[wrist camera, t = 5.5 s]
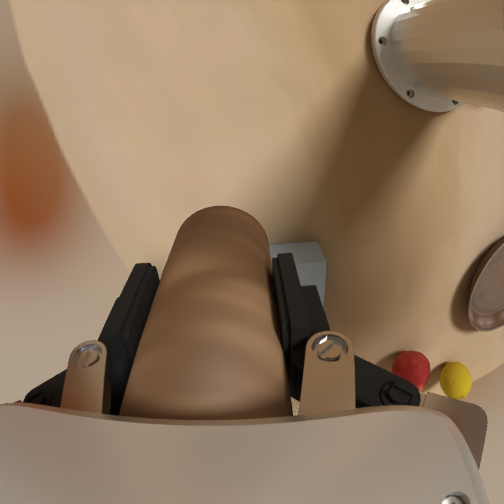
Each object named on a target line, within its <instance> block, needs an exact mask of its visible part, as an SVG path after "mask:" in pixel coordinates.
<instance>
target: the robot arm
mask: <svg viewBox="0 0 504 504" xmlns="http://www.w3.org/2000/svg"><path fill="white" fill-rule="evenodd" d="M378 40H380V41H381V44H380V43H379V41H378ZM371 45H372V50H373V56H374V59H375V61H376V64H377V67H378V69H379V71H380V73H381V74H382V76H383V78H384V80H385V81H386V82H387V84H388V85H389V86H390V88H391V89H392V90H393V91H394V92H395V93H396V94H397V95H398V96H399V97H400V98H402V99H403V100H404V101H406V102H407V103H409V104H410V105H413V106H415V107H417V108H419V109H423V110H426V111H432V112H447V111H450V110H453V109H456V108H457V107H459V106H460V105H462V104H463V103H464V102H465V103H469V104H474V105H478V106H482V107H487V108H491V109H495V110H498V111H502V112H504V0H387V1H386V2H385V3H383V4H382V6H381V7H380V8H379V10H378V11H377V13H376V15H375V18H374V20H373V24H372V29H371ZM407 91H408V95H407ZM272 274H273V283H274V290H275V297H276V303H277V310H278V318H279V325H280V332H281V339H282V346H283V353H284V356H285V360H286V367H287V374H288V381H289V389H290V396H291V397H293V398H294V399H296V400H298V401H299V402H300V406H299V413H298V415H297V416H286V417H275V418H260V419H239V420H173V419H153V418H139V417H127V416H119V413H120V409H121V405H122V401H123V398H124V394H125V390H126V387H127V383H128V380H129V376H130V373H131V369H132V366H133V362H134V359H135V356H136V352H137V349H138V346H139V343H140V339H141V336H142V333H143V330H144V327H145V324H146V321H147V318H148V315H149V311H150V308H151V305H152V302H153V300H154V297H155V294H156V291H157V288H158V285H159V282H160V280H159V276H158V272H157V269H156V267H155V266H152V265H151V263H139V264H135V266H134V268H133V270H132V272H131V274H130V276H129V278H128V280H127V282H126V285H125V286H124V288H123V291H122V293H121V295H120V297H118V298H117V299H116V301H115V303H114V305H113V308H112V310H111V312H110V314H109V316H108V319H107V321H106V323H105V325H104V327H103V329H102V332H101V334H100V336H99V339H98V341H96V340H91V341H86V342H83V343H81V344H79V345H78V346H77V347H76V348H74V350H73V351H72V353H71V355H70V357H69V362H68V367H67V369H66V370H64V371H63V372H61V373H60V374H57V375H56V376H54V377H53V378H51V379H49V380H47V381H46V382H44V383H42V384H41V385H39V386H37V387H36V388H34V389H33V390H31V391H30V392H29V393H28V394H27V395H26V396H25V399H24V401H23V402H22V401H21V400H19V401H16V402H14V403H5V404H0V504H489V501H488V498H487V495H486V491H485V488H484V485H483V481H482V478H481V476H480V473H479V467H480V462H481V457H482V452H483V447H484V442H485V436H486V430H487V415H486V413H485V411H484V410H483V409H482V408H481V407H479V406H477V405H475V404H472V403H467V402H464V401H460V400H456V399H452V398H449V397H445V396H441V395H438V394H434V393H431V392H427V394H426V395H425V394H422V393H420V392H419V390H418V388H417V387H416V386H415V385H414V384H413V383H411V382H410V381H408V380H406V379H404V378H401V377H399V376H397V375H395V374H393V373H391V372H389V371H387V370H385V369H382V368H380V367H378V366H376V365H374V364H372V363H370V362H368V361H366V360H364V359H362V358H360V357H358V356H356V355H354V347H353V343H352V342H351V340H350V339H349V338H348V337H347V336H345V335H344V334H341V333H339V332H335V331H330V328H329V325H328V321H327V318H326V315H325V312H324V309H323V305H322V302H321V299H320V296H319V293H318V290H317V287H316V285H307V286H301V284H300V280H299V277H298V273H297V269H296V265H295V262H294V258H293V254H292V253H279V254H277V258H272Z"/></svg>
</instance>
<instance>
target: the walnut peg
mask: <svg viewBox="0 0 504 504" xmlns="http://www.w3.org/2000/svg"><path fill="white" fill-rule="evenodd" d="M119 416H127V417H139V418H153V419H173V420H239V419H260V418H275V417H286V416H293V411H292V404H291V396H290V389H289V381H288V374H287V367H286V360H285V356H284V353H283V346H282V339H281V332H280V325H279V318H278V310H277V303H276V297H275V290H274V283H273V274H272V264H271V257H270V251H269V244H268V239H267V235H266V233H265V231H264V229H263V228H262V226H261V225H260V223H259V222H258V221H257V220H256V219H255V218H254V217H252V216H251V215H249V214H248V213H246V212H244V211H242V210H240V209H237V208H233V207H229V206H213V207H208V208H204V209H202V210H199V211H197V212H195V213H194V214H192V215H191V216H190V217H188V218H187V219H186V220H185V221H184V223H183V224H182V225H181V227H180V229H179V231H178V233H177V236H176V238H175V241H174V244H173V246H172V249H171V252H170V254H169V257H168V260H167V263H166V265H165V268H164V271H163V274H162V276H161V279H160V282H159V285H158V288H157V291H156V294H155V297H154V300H153V302H152V305H151V308H150V311H149V315H148V318H147V321H146V324H145V327H144V330H143V333H142V336H141V339H140V343H139V346H138V349H137V352H136V356H135V359H134V362H133V366H132V369H131V373H130V376H129V380H128V383H127V387H126V390H125V394H124V398H123V401H122V405H121V409H120V413H119Z"/></svg>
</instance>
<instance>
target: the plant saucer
mask: <svg viewBox="0 0 504 504" xmlns="http://www.w3.org/2000/svg"><path fill="white" fill-rule="evenodd" d="M468 316H469V321H470V323H471V325H472V326H473V327H474V328H475V329H477V330H479V331H491V330H495V329H497V328H500V327H502V326H503V325H504V238H502V239H501V240H499V241H498V242H497V243H496V244H495V245H494V246H493V247H492V248H491V249H490V250H489V251H488V253H487V254H486V255H485V257H484V258H483V260H482V261H481V263H480V264H479V266H478V268H477V270H476V272H475V274H474V277H473V279H472V283H471V286H470V291H469V297H468Z"/></svg>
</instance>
